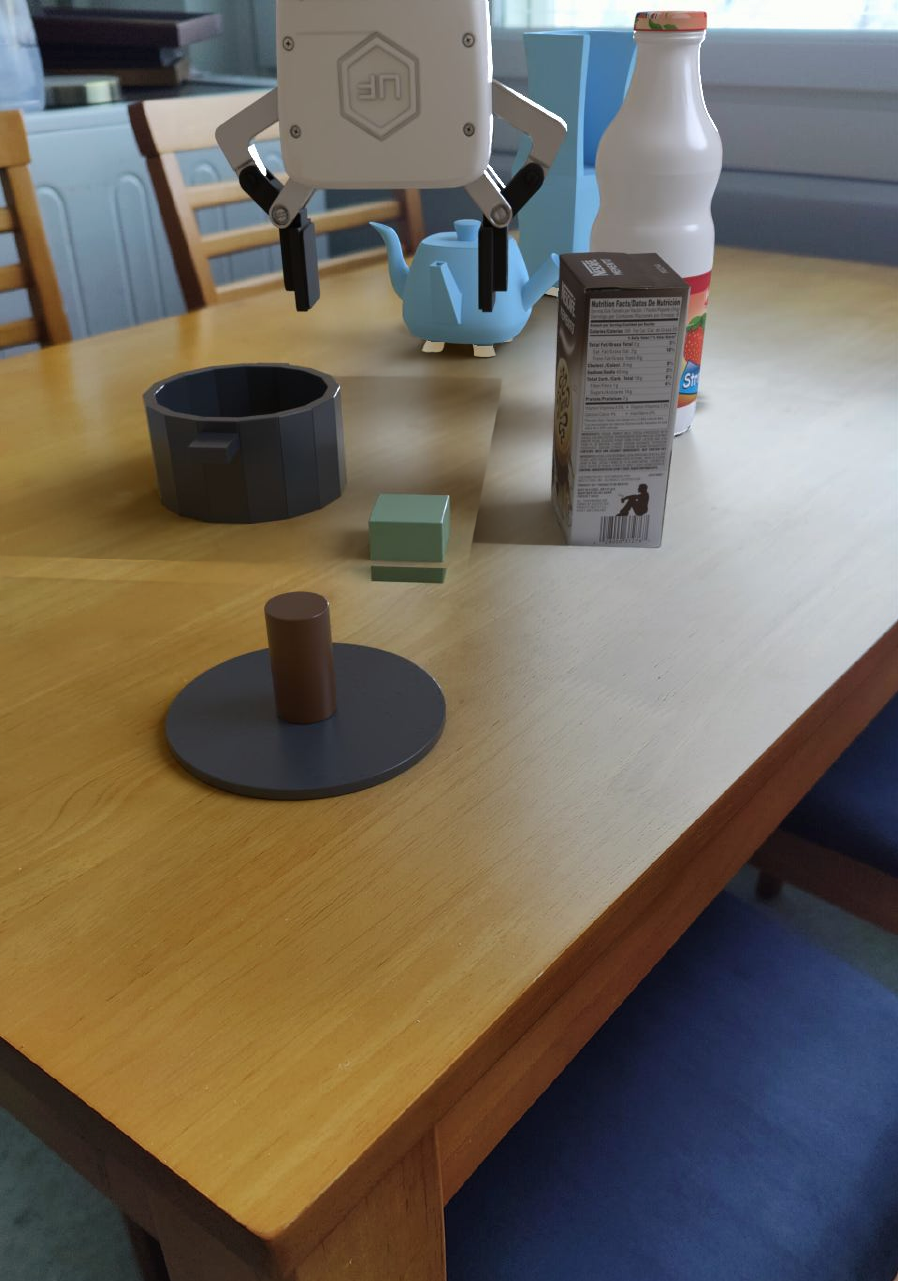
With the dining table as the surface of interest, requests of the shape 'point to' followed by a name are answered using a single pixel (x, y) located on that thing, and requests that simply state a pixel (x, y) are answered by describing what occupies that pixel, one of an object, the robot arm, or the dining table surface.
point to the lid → (305, 712)
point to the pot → (247, 442)
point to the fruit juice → (664, 173)
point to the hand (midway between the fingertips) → (397, 306)
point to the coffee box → (616, 396)
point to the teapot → (462, 287)
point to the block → (409, 536)
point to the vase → (571, 133)
